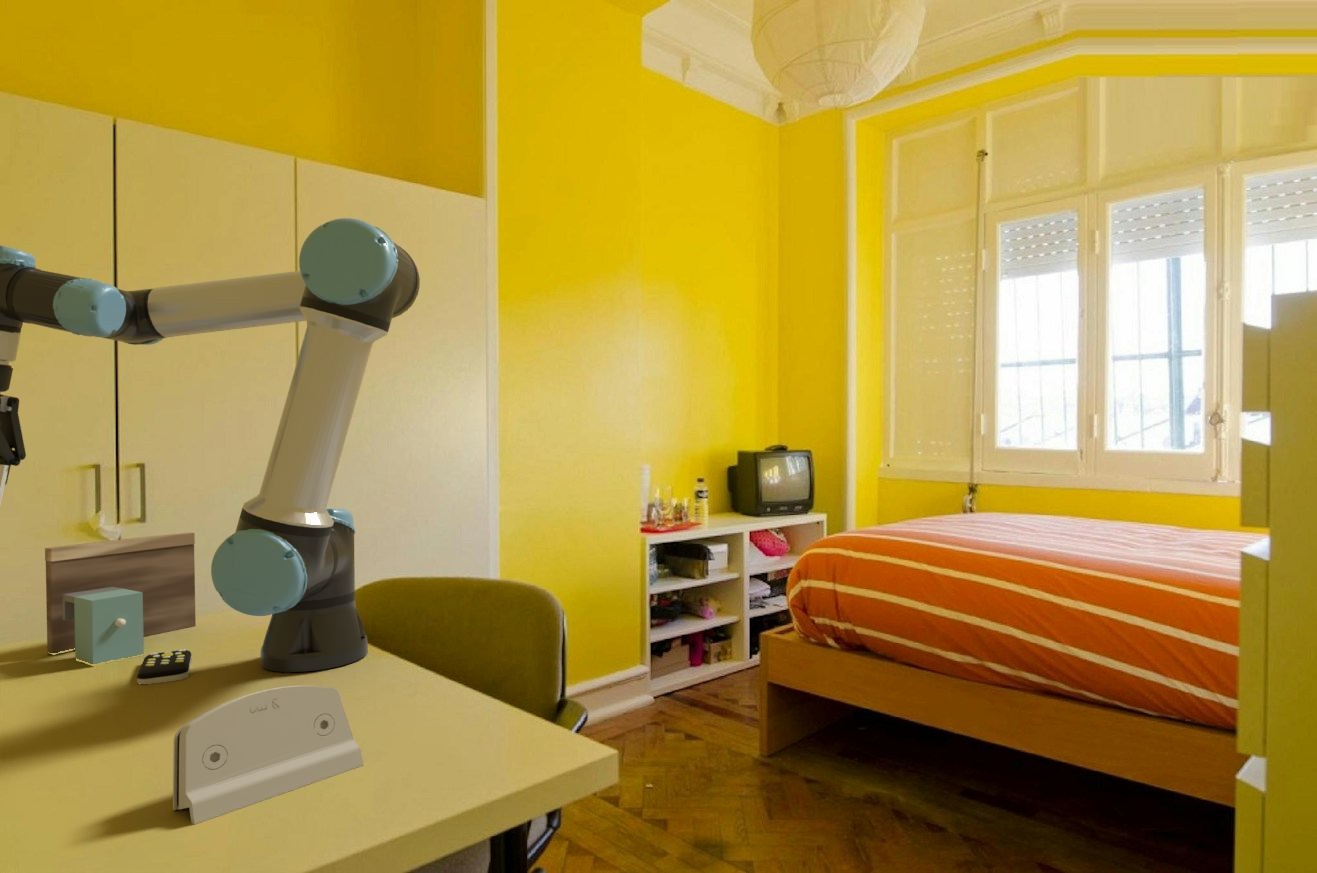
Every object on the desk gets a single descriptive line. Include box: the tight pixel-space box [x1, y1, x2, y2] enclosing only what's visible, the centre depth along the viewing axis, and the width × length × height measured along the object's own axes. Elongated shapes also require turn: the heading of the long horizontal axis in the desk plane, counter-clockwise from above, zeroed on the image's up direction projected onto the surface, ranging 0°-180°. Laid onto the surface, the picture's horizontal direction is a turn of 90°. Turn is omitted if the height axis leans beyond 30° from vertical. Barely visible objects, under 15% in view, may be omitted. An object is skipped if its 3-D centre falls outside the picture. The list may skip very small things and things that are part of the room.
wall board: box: [44, 531, 196, 653], centre depth 135 cm, size 2×22×17 cm, turn 148°
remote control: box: [136, 648, 193, 685], centre depth 116 cm, size 6×13×2 cm, turn 28°
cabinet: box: [62, 587, 145, 664], centre depth 124 cm, size 11×7×10 cm, turn 58°
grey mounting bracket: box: [172, 685, 364, 825], centre depth 78 cm, size 17×5×10 cm, turn 139°
